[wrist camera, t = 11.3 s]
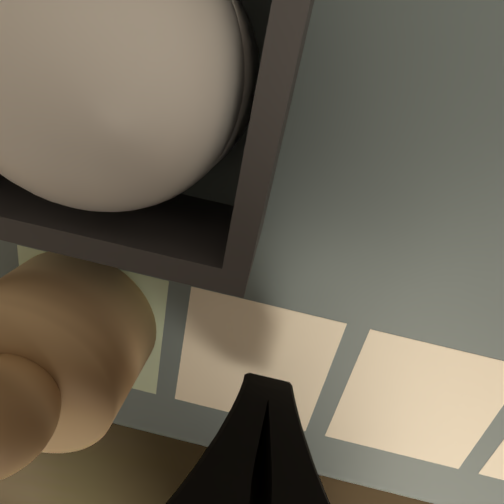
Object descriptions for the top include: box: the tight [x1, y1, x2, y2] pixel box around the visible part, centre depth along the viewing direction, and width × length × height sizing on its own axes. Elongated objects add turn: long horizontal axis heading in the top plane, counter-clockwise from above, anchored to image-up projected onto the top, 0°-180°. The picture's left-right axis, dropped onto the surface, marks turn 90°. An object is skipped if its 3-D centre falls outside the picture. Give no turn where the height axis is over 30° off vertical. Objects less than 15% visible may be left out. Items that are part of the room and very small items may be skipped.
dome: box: [0, 0, 259, 212], centre depth 6 cm, size 5×5×5 cm
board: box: [0, 0, 504, 504], centre depth 9 cm, size 17×26×4 cm, turn 79°
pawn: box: [0, 251, 156, 480], centre depth 10 cm, size 5×5×5 cm
